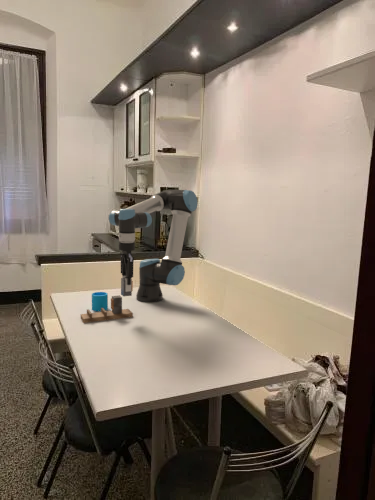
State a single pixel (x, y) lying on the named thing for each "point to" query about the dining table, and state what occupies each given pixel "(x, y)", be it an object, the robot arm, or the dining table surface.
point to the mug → (99, 301)
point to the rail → (108, 312)
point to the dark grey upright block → (124, 288)
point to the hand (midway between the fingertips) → (126, 290)
